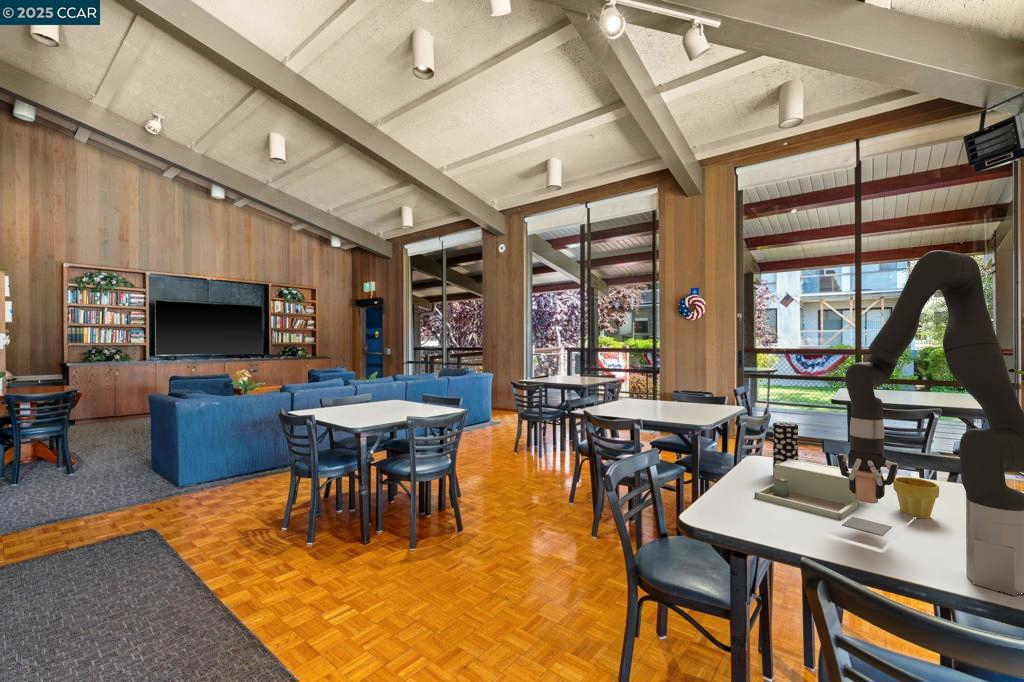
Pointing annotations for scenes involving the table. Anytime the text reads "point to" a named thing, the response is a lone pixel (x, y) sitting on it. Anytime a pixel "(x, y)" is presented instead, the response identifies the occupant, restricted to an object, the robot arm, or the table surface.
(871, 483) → the terracotta pot
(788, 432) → the white-spotted black cylinder
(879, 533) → the slate tile
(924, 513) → the plant pot
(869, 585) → the table surface
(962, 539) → the table surface
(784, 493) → the green plastic pot
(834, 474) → the tray with back shelf
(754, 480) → the table surface
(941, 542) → the table surface
